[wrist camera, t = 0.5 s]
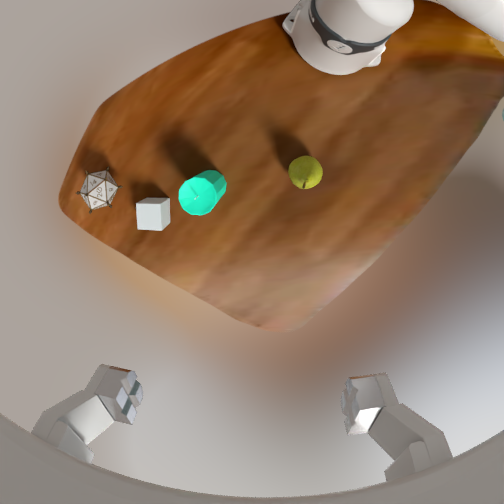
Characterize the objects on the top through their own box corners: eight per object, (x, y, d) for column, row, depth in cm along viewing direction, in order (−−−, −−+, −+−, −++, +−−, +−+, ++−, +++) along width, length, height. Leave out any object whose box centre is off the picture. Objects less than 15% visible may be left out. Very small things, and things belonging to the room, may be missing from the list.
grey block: (146, 197, 51) (136, 203, 46) (169, 198, 50) (160, 204, 46) (147, 221, 53) (137, 229, 48) (170, 222, 52) (161, 230, 48)
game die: (100, 159, 47) (71, 166, 38) (132, 169, 48) (106, 177, 39) (93, 199, 51) (65, 212, 42) (124, 210, 52) (99, 225, 42)
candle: (190, 194, 50) (170, 210, 39) (201, 165, 48) (182, 172, 37) (219, 205, 51) (207, 224, 40) (231, 176, 48) (221, 187, 37)
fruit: (321, 159, 46) (339, 166, 35) (312, 189, 48) (326, 204, 37) (291, 150, 46) (300, 153, 35) (283, 180, 48) (288, 192, 37)
